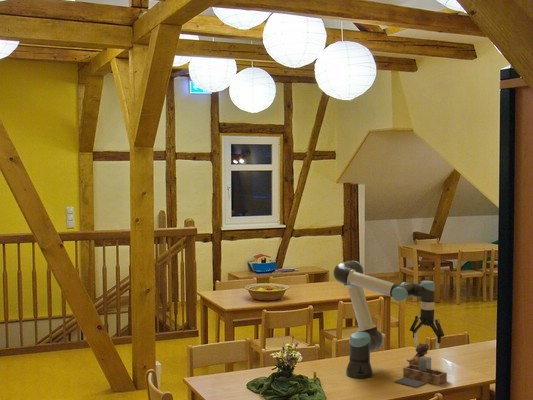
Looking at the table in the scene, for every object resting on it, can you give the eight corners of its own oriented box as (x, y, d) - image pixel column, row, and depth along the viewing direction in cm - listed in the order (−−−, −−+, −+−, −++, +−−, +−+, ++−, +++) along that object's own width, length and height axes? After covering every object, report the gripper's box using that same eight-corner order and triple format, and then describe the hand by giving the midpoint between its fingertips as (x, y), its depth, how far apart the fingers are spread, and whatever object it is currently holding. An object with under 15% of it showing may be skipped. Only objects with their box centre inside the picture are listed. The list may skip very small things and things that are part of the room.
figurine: (430, 367, 406) (431, 342, 405) (411, 375, 390) (412, 349, 389) (420, 364, 411) (420, 340, 410) (401, 372, 395) (401, 347, 394)
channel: (403, 376, 389) (403, 367, 388) (411, 372, 395) (411, 364, 395) (438, 385, 373) (438, 376, 373) (446, 381, 380) (446, 372, 380)
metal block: (418, 378, 384) (418, 357, 383) (423, 376, 388) (423, 356, 387) (426, 380, 381) (426, 359, 380) (430, 378, 384) (431, 357, 384)
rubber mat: (394, 382, 378) (394, 381, 378) (404, 378, 385) (404, 377, 385) (416, 388, 368) (416, 387, 368) (426, 383, 376) (426, 382, 376)
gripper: (404, 306, 386) (403, 343, 388) (444, 313, 370) (443, 352, 371) (411, 304, 392) (410, 340, 393) (451, 311, 375) (450, 349, 376)
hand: (426, 346), depth 382 cm, fingers open, 13 cm apart
